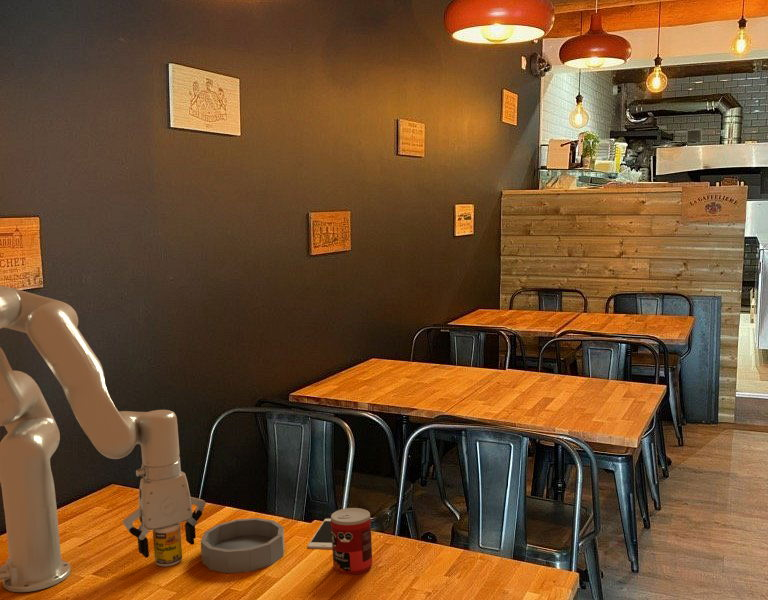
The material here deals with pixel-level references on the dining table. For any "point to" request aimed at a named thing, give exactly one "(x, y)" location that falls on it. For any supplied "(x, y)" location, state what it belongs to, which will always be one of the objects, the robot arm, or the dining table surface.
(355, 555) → the canned food
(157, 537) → the supplement bottle
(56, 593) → the dining table surface
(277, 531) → the bowl
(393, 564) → the dining table surface
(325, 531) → the smartphone
